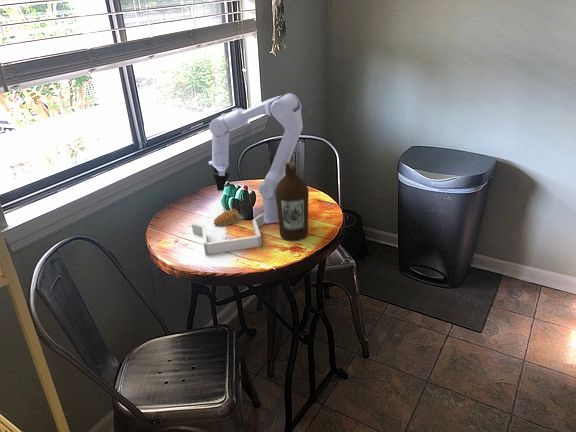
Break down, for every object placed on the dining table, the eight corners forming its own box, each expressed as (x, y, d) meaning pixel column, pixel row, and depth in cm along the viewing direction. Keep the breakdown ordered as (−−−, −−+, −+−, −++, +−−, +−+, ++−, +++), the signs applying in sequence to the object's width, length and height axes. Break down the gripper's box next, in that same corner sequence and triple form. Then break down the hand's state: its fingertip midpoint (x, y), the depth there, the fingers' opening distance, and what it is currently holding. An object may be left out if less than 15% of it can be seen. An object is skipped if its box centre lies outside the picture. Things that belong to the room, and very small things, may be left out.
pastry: (220, 229, 162) (219, 219, 160) (210, 223, 167) (208, 214, 165) (242, 220, 167) (241, 211, 165) (232, 215, 172) (231, 205, 170)
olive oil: (277, 227, 160) (273, 158, 149) (308, 226, 161) (306, 156, 149) (278, 243, 151) (273, 170, 140) (311, 241, 151) (308, 168, 140)
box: (264, 222, 165) (263, 213, 163) (272, 244, 150) (271, 234, 149) (193, 232, 161) (191, 223, 159) (194, 256, 146) (192, 246, 145)
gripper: (207, 142, 169) (207, 177, 175) (210, 158, 156) (209, 194, 163) (227, 142, 170) (226, 176, 177) (231, 158, 158) (230, 194, 165)
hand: (219, 185), depth 170 cm, fingers open, 7 cm apart
